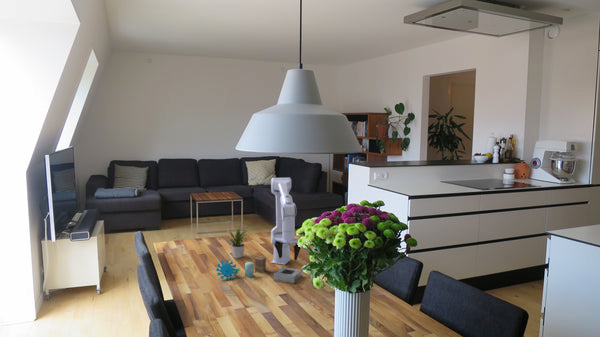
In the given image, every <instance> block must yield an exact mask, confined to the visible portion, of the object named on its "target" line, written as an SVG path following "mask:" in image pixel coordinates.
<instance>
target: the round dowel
mask: <svg viewBox="0 0 600 337" xmlns="http://www.w3.org/2000/svg"><path fill="white" fill-rule="evenodd" d="M254 272H255V262H252V261H247V262H245V264H244V277H245V278H253V277H255V275H254Z"/></svg>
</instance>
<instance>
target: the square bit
mask: <svg viewBox="0 0 600 337" xmlns="http://www.w3.org/2000/svg"><path fill="white" fill-rule="evenodd" d="M266 270H267V257H266V256H260V255H259V256H256V257H255V258H254V272H255V273H262V274H263V273H264V272H265V271H266Z"/></svg>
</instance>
